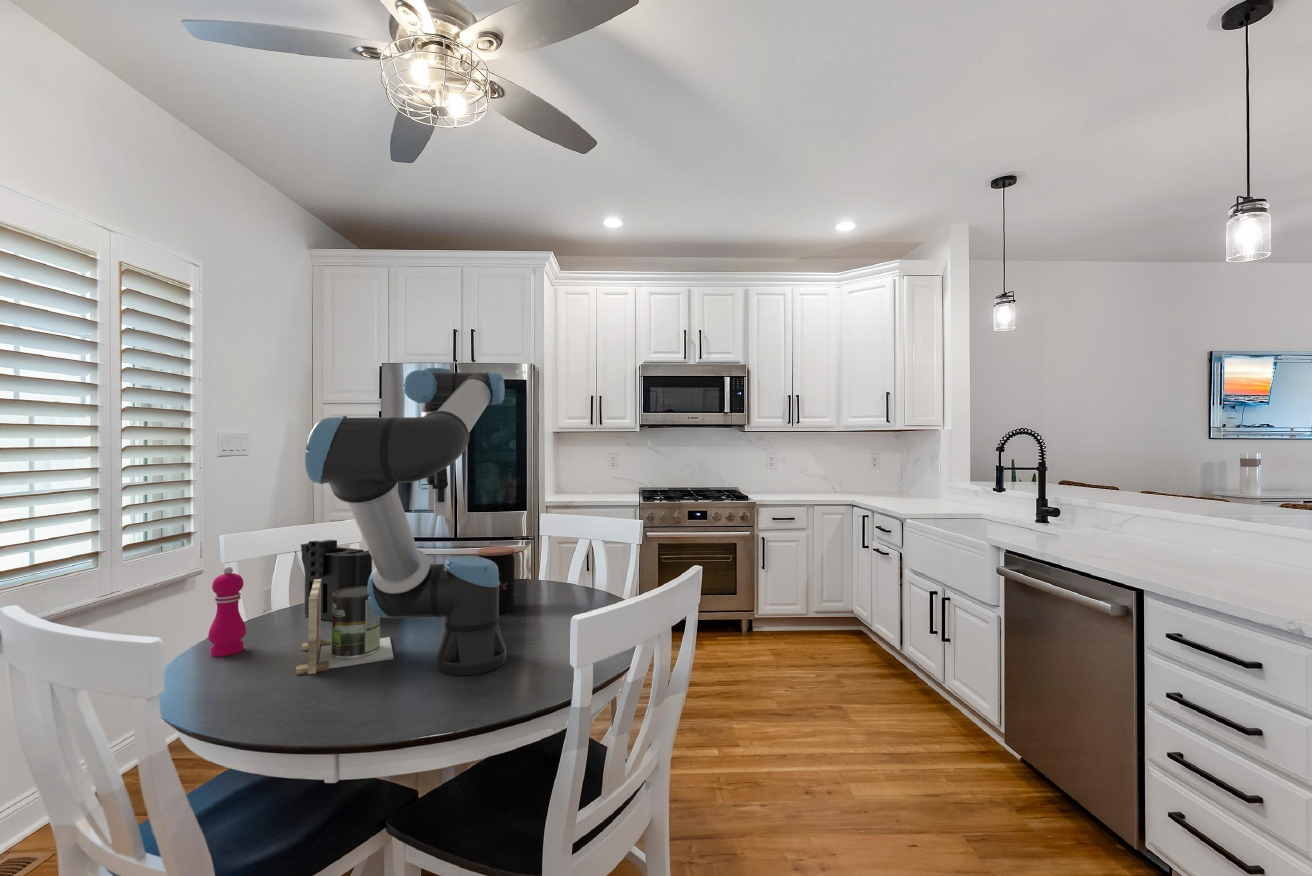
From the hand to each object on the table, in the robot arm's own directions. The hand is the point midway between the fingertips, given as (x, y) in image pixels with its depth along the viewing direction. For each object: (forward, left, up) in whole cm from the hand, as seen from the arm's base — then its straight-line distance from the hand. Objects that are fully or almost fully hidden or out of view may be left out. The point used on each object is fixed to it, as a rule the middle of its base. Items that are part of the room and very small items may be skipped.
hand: (436, 512), depth 149 cm
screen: (-3, +27, -32) cm, 41 cm away
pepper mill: (+11, +45, -32) cm, 56 cm away
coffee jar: (+18, -19, -32) cm, 41 cm away
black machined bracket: (+31, +23, -32) cm, 50 cm away
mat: (-4, +18, -32) cm, 37 cm away
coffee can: (-4, +18, -31) cm, 36 cm away
